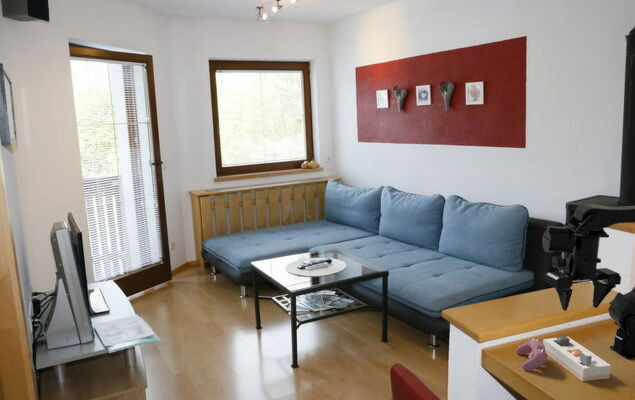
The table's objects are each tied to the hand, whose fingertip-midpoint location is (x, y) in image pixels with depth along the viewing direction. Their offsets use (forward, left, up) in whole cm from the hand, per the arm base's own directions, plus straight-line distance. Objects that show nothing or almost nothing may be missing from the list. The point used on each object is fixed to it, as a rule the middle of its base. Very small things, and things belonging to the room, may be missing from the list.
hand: (579, 308), depth 135 cm
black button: (+5, +1, -9) cm, 11 cm away
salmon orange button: (+5, +7, -10) cm, 14 cm away
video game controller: (+16, +3, -12) cm, 20 cm away
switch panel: (+5, +6, -12) cm, 15 cm away
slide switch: (+7, +12, -10) cm, 17 cm away
